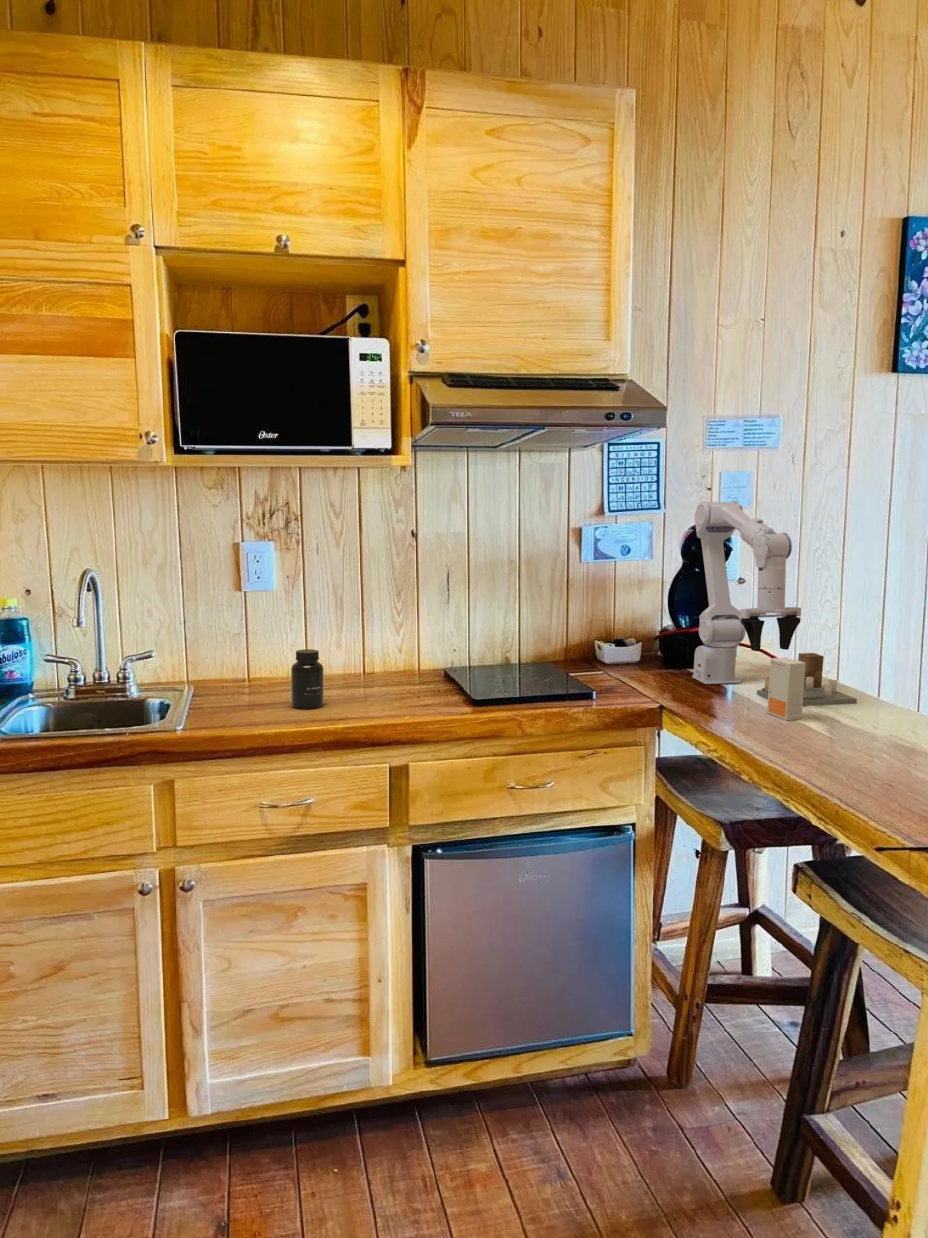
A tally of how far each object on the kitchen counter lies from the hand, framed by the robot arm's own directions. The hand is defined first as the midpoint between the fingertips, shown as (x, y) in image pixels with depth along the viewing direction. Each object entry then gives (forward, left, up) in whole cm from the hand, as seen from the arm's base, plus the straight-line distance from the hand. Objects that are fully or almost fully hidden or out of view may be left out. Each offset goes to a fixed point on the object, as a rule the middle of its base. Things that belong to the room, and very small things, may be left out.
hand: (770, 650), depth 191 cm
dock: (+10, +1, -12) cm, 16 cm away
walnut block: (+17, +11, -12) cm, 24 cm away
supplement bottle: (-101, +12, -12) cm, 102 cm away
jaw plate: (+3, +1, -11) cm, 11 cm away
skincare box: (-3, -12, -12) cm, 17 cm away
